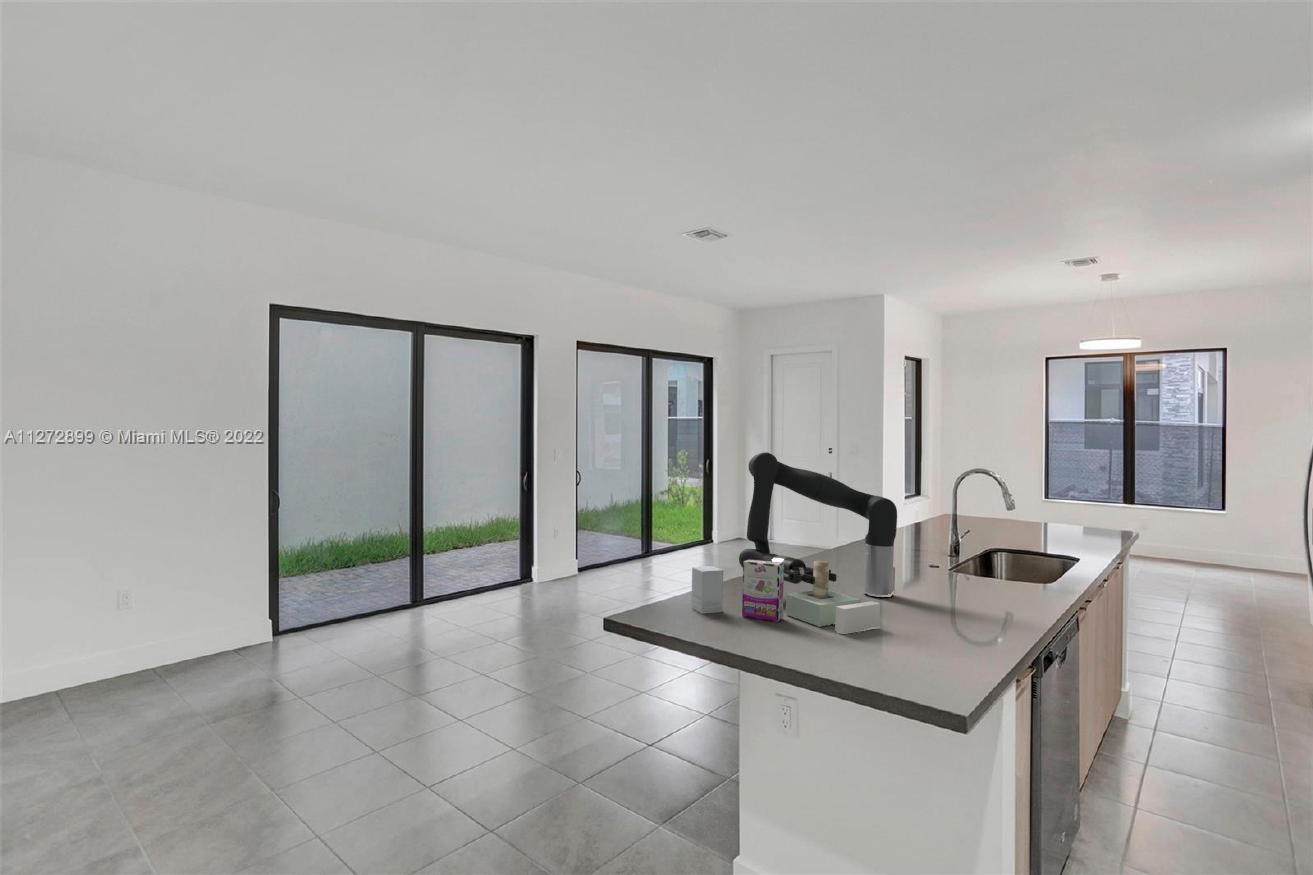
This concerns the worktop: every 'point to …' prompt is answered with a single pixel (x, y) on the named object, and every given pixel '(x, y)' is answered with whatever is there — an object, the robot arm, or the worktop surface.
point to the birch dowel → (821, 579)
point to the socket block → (816, 606)
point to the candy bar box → (763, 590)
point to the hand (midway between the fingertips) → (825, 579)
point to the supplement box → (707, 589)
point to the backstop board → (857, 617)
